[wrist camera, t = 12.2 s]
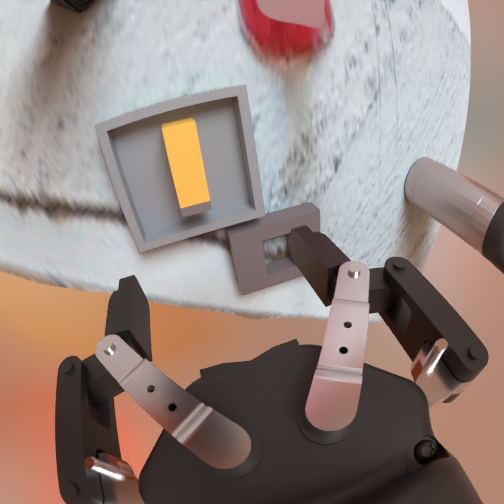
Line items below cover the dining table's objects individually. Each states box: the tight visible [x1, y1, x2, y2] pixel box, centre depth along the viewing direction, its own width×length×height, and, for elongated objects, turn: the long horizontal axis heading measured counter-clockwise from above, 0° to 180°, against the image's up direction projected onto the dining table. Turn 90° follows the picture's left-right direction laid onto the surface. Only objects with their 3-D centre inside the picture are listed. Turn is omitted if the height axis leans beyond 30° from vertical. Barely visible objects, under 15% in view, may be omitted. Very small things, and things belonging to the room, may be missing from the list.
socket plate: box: [225, 202, 320, 295], centre depth 37 cm, size 12×10×2 cm
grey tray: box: [95, 85, 265, 253], centre depth 28 cm, size 15×15×3 cm
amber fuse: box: [162, 117, 212, 217], centre depth 26 cm, size 3×4×9 cm
